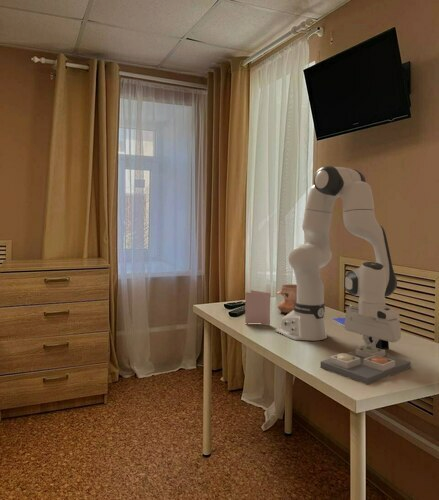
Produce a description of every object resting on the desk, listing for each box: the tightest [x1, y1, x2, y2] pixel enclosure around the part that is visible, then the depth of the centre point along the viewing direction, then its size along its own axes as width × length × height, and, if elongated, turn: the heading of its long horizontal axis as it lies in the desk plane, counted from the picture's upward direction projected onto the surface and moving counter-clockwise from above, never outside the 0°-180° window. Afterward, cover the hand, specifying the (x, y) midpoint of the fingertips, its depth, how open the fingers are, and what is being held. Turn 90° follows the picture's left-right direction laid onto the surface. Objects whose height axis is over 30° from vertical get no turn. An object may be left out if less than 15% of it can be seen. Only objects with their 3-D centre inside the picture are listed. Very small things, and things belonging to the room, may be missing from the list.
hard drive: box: [332, 317, 345, 327], centre depth 199 cm, size 2×8×12 cm
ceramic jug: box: [276, 283, 297, 315], centre depth 220 cm, size 18×14×14 cm
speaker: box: [369, 337, 390, 350], centre depth 162 cm, size 8×6×10 cm
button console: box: [319, 345, 412, 386], centre depth 141 cm, size 18×24×4 cm
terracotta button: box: [371, 356, 388, 364], centre depth 137 cm, size 5×5×2 cm
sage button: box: [362, 346, 378, 353], centre depth 148 cm, size 5×5×2 cm
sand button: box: [336, 353, 353, 362], centre depth 139 cm, size 5×5×2 cm
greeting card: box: [244, 290, 271, 325], centre depth 197 cm, size 11×7×15 cm, turn 46°
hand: (370, 348), depth 147 cm, fingers closed, pressing on sage button
